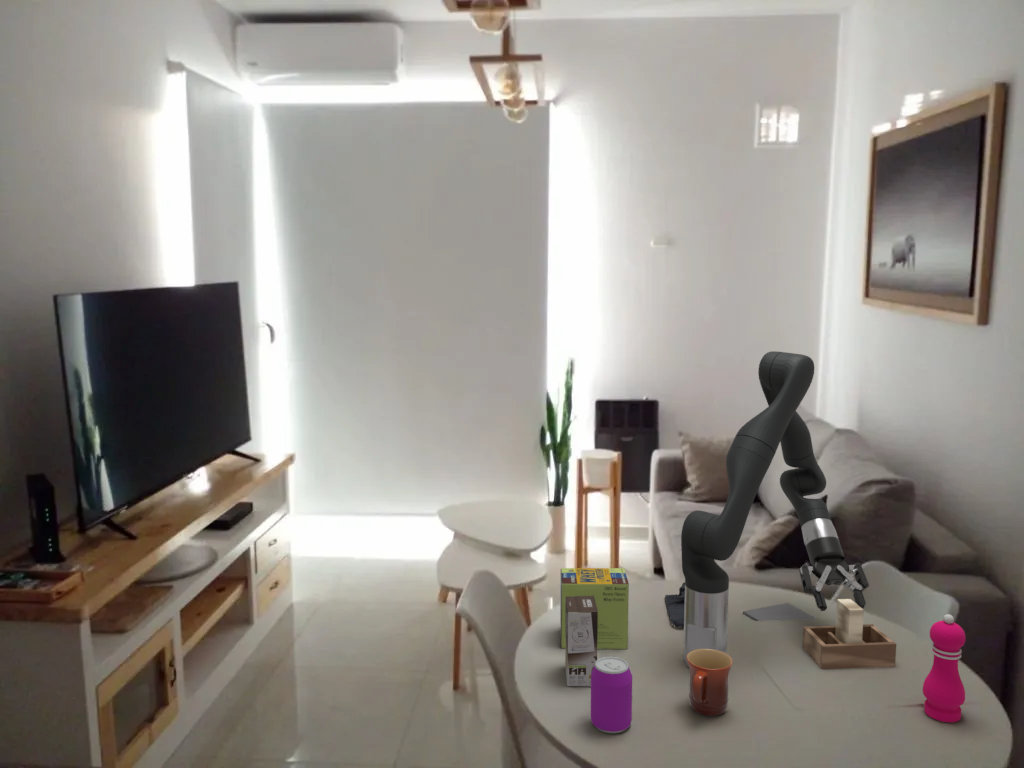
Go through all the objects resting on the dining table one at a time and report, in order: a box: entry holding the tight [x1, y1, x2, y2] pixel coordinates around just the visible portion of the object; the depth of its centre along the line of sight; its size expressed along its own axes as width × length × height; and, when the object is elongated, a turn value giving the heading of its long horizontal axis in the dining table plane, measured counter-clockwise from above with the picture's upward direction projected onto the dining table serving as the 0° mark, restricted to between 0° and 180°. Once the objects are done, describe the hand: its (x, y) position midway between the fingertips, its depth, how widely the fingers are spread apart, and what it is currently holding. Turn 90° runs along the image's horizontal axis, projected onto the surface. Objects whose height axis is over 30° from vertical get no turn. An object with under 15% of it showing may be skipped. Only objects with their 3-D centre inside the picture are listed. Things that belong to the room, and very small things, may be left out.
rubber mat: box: [742, 602, 819, 622], centre depth 197 cm, size 18×14×1 cm
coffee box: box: [564, 596, 598, 687], centre depth 170 cm, size 9×6×16 cm
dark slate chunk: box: [664, 581, 685, 628], centre depth 203 cm, size 15×22×5 cm
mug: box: [686, 649, 734, 717], centre depth 156 cm, size 12×9×10 cm
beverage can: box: [590, 656, 633, 734], centre depth 152 cm, size 8×8×12 cm
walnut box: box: [801, 623, 897, 670], centre depth 177 cm, size 10×16×6 cm, turn 94°
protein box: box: [559, 567, 630, 650], centre depth 188 cm, size 10×15×16 cm
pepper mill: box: [922, 613, 967, 724], centre depth 154 cm, size 7×7×20 cm
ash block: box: [835, 598, 864, 644], centre depth 177 cm, size 6×3×12 cm, turn 4°
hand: (842, 609), depth 179 cm, fingers open, 8 cm apart
